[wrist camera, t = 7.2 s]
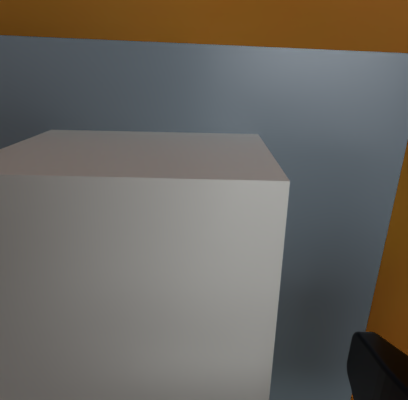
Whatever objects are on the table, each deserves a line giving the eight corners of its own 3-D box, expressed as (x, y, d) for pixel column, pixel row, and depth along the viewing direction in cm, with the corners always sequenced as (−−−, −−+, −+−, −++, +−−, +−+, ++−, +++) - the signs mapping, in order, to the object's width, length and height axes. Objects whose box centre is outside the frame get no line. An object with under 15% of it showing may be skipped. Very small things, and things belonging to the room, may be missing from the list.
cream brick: (258, 134, 9) (290, 181, 5) (241, 392, 12) (254, 546, 8) (51, 129, 9) (-62, 173, 5) (80, 387, 12) (19, 538, 8)
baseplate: (395, 55, 10) (426, 54, 8) (326, 408, 14) (339, 447, 12) (-64, 35, 10) (-109, 29, 9) (-2, 391, 14) (-26, 427, 12)
